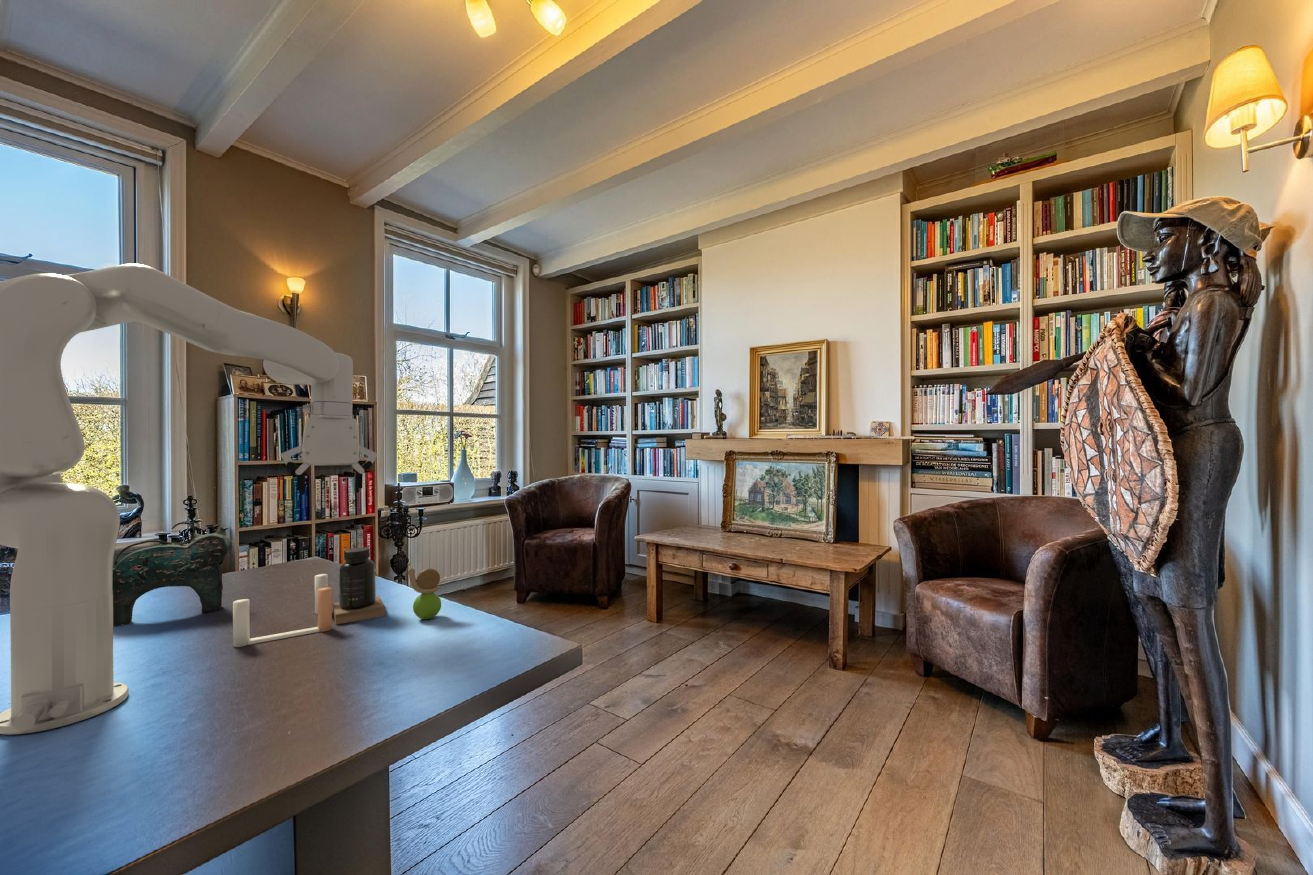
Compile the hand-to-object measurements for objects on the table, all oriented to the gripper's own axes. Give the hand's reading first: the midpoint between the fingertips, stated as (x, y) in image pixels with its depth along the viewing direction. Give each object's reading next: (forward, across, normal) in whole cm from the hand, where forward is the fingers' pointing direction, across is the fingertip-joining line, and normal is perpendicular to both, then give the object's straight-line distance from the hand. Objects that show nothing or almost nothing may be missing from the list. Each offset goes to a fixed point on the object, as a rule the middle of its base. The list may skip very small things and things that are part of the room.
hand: (330, 493), depth 112 cm
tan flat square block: (+26, +6, 0) cm, 27 cm away
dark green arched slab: (+27, -28, +22) cm, 44 cm away
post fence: (+27, -7, 0) cm, 28 cm away
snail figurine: (+26, +17, -11) cm, 33 cm away
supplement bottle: (+24, +5, 0) cm, 25 cm away
